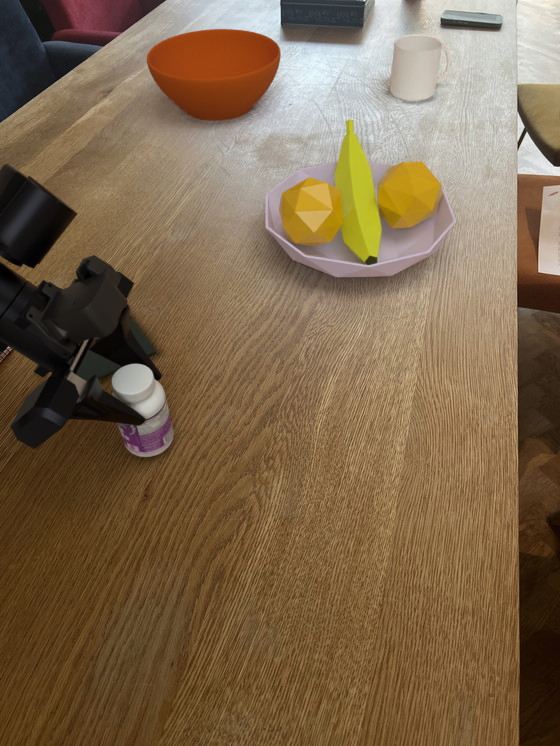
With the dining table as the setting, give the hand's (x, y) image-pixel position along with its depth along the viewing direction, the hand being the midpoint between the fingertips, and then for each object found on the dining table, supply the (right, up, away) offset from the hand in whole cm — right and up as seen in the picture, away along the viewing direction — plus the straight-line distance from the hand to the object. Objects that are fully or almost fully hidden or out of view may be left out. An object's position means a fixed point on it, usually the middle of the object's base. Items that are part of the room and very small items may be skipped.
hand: (151, 400), depth 60 cm
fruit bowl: (+24, +23, +30) cm, 45 cm away
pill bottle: (-1, -4, +5) cm, 7 cm away
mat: (-9, +6, +16) cm, 20 cm away
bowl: (0, +56, +62) cm, 84 cm away
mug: (+41, +60, +64) cm, 97 cm away
